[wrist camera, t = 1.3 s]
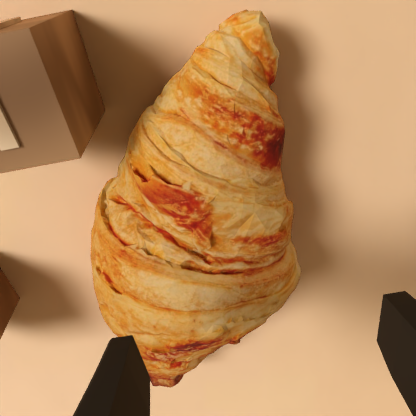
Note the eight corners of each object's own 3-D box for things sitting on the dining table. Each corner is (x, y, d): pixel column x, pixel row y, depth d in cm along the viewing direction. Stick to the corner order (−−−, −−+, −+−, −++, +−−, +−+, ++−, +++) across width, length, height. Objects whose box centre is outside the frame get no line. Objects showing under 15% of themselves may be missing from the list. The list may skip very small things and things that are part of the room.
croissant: (173, -13, 17) (39, -37, 11) (397, 40, 15) (404, 53, 8) (131, 311, 28) (52, 399, 21) (257, 375, 25) (211, 498, 19)
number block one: (105, 109, 17) (79, 160, 12) (18, 126, 17) (-37, 181, 13) (70, 5, 14) (24, 22, 10) (-30, 25, 15) (-117, 51, 10)
